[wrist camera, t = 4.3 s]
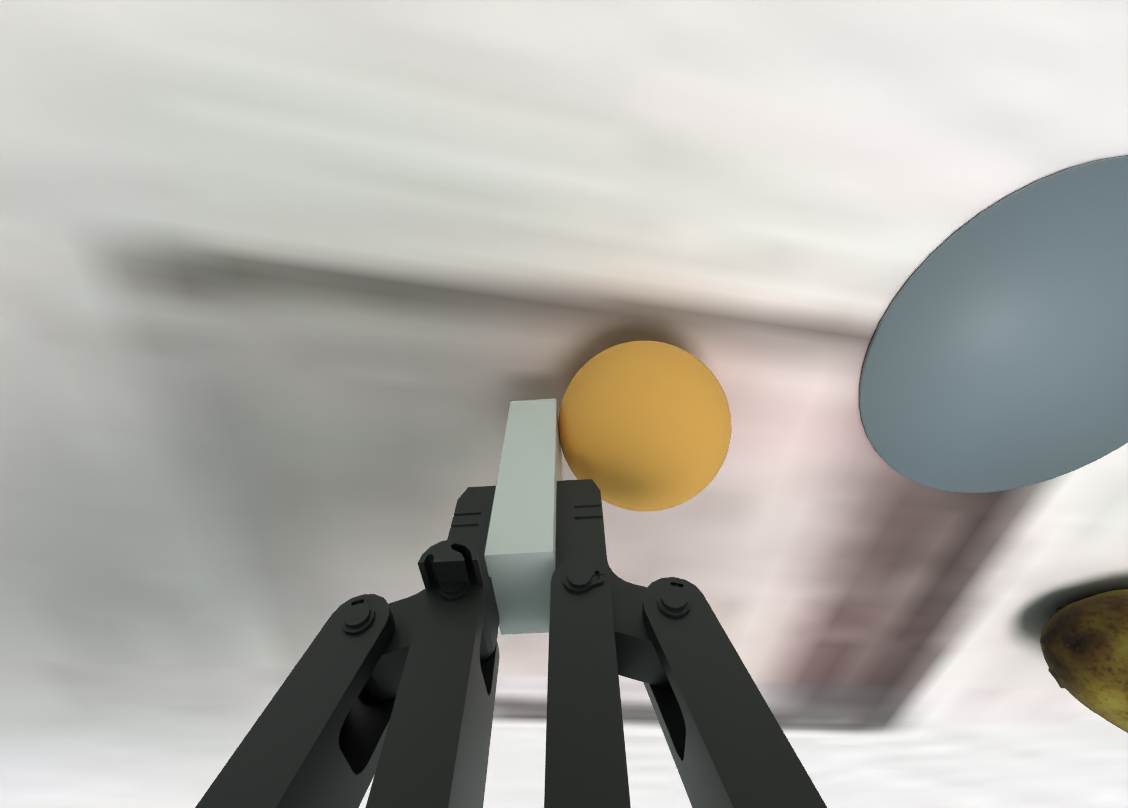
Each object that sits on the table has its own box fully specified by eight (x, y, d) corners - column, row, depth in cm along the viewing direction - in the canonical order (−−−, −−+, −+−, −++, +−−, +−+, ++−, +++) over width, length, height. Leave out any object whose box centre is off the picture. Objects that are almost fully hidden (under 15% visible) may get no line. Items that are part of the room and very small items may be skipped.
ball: (555, 488, 20) (657, 578, 16) (503, 378, 16) (617, 458, 13) (657, 406, 22) (772, 469, 18) (629, 290, 18) (765, 337, 14)
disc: (867, 522, 23) (870, 525, 23) (847, 242, 17) (850, 243, 17) (1199, 438, 21) (1205, 441, 21) (1319, 83, 15) (1328, 83, 15)
